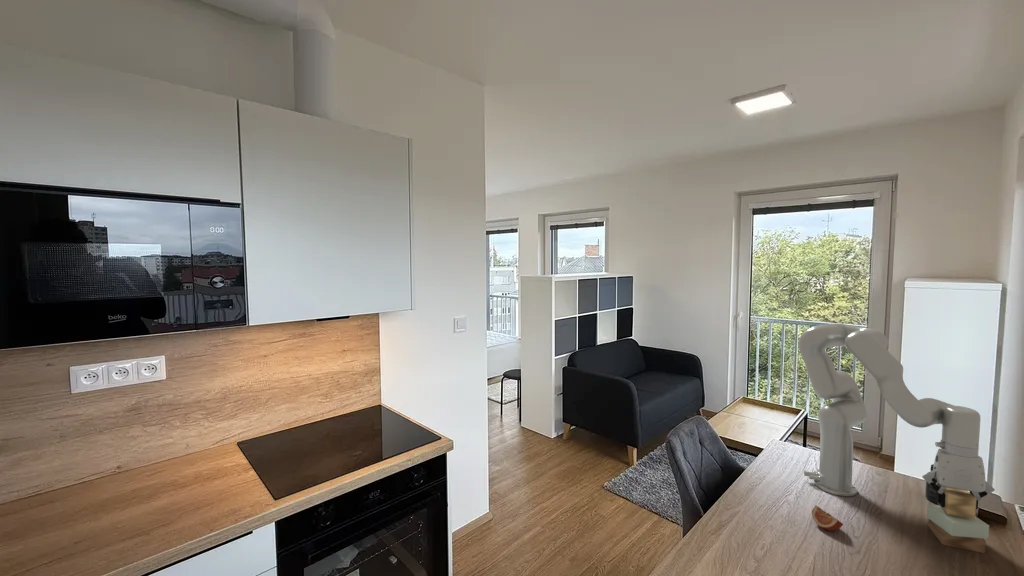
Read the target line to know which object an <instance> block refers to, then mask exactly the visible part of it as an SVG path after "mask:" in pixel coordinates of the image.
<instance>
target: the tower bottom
mask: <svg viewBox="0 0 1024 576" xmlns="http://www.w3.org/2000/svg"><path fill="white" fill-rule="evenodd" d="M927 527H928V528H929V530H930V531H931V532H932V533H933V534H934V536H935V537H936V538H937V539H938V540H939V542H940V543H941V545H944V546H948V547H954V548H958V549H961V550H962V549H963V550H968V551H972V552H977V553H982V554H985V553H986V542H987V541H986V539H984V538H972V537H960V536H951V535H950V534H949V533H947V532H946V531H945V530H943V529H942V528H941V527H939V526H938V525H937V524H936V523H934V522H933V521H932V520H930V519H929V518H928V526H927Z"/></svg>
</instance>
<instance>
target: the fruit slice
mask: <svg viewBox="0 0 1024 576" xmlns="http://www.w3.org/2000/svg"><path fill="white" fill-rule="evenodd" d="M811 515H812V519H813V520H814V522H815V524H816V525H818V527H820V528H821V529H823V530H825V531H831V532H833V531H837V530H839V529H840V528H842V527H843V525H844V524H843V522H841V521H840V520H838V519H837V518H836V517H835V516H833V515H831V514H830V513H829V512H827V511H825V510H823V509H822V507H820V506H817V505H815V506H814V507H813V509H812V510H811Z"/></svg>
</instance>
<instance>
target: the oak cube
mask: <svg viewBox="0 0 1024 576" xmlns="http://www.w3.org/2000/svg"><path fill="white" fill-rule="evenodd" d="M944 494H945V507H942V509H943V510H944V511H945V512H946V513H947V514H951V515H957V516H962V517H967V518H973V519H975V516H976V513H977V509H976V498H975V497H974V496H973V495H972V494H971V493H970V492H969V491H967V490H960V489H955V488H949V487H947V488H946V490H945V491H944Z"/></svg>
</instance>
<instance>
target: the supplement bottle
mask: <svg viewBox="0 0 1024 576" xmlns="http://www.w3.org/2000/svg"><path fill="white" fill-rule="evenodd" d="M933 467H934V463H933V464H931V465H930V469H929V470H930V471H932V470H933ZM930 471H928V472H927V473H929V472H930ZM932 481H933V482H934V483H935V484H936V483H937V480H936V479H934V478H932ZM924 497H925V498H926V500H928V501H930V502H931V503H933V504H937V505H939V504H938V502H937V501H936V499H935V498H936V490H935V489H934V488H933V487H932V486H931V485H930V484H929V483H928V482H926V481H925V496H924Z"/></svg>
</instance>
